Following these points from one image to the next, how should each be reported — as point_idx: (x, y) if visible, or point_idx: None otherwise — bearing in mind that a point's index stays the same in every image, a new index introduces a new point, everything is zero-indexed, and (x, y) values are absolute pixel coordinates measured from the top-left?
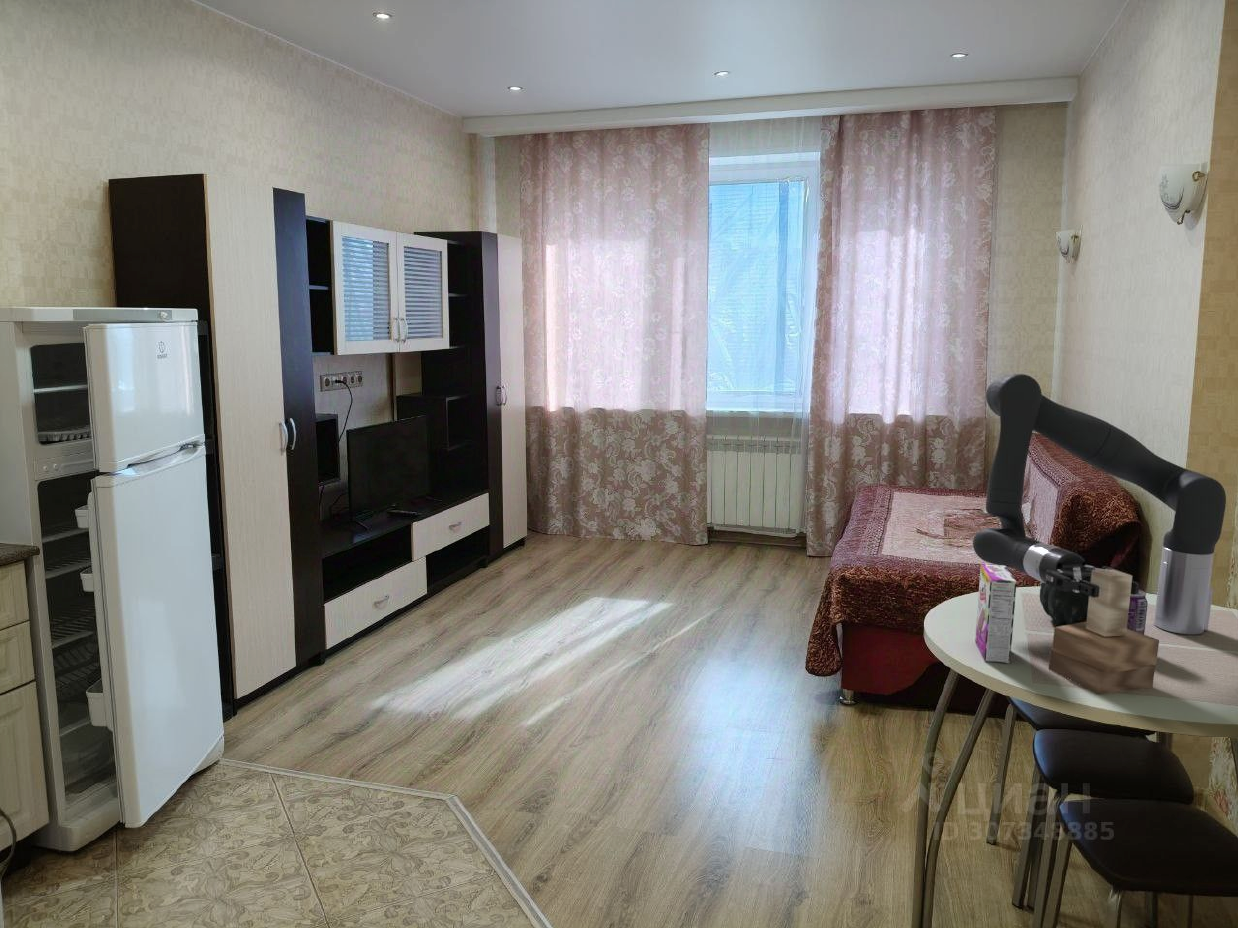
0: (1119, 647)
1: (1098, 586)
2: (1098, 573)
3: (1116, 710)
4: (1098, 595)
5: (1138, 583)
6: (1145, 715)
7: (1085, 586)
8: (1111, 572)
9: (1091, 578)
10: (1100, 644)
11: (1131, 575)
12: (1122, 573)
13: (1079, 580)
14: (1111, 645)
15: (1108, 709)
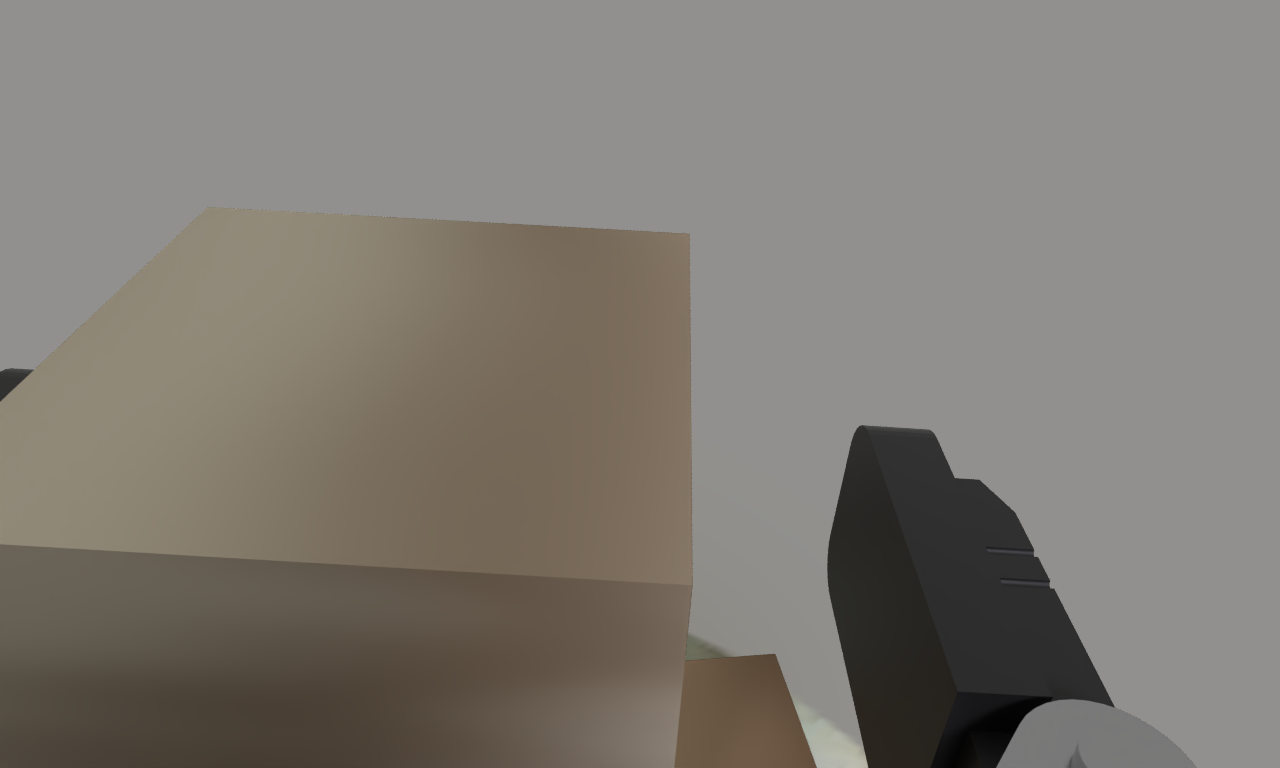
0: (688, 664)
1: (868, 428)
2: (687, 432)
3: (814, 725)
4: (834, 536)
5: (15, 372)
6: (701, 650)
7: (1033, 576)
8: (356, 361)
9: (671, 744)
10: (810, 753)
11: (204, 214)
12: (184, 298)
13: (1097, 716)
14: (724, 711)
15: (852, 744)
